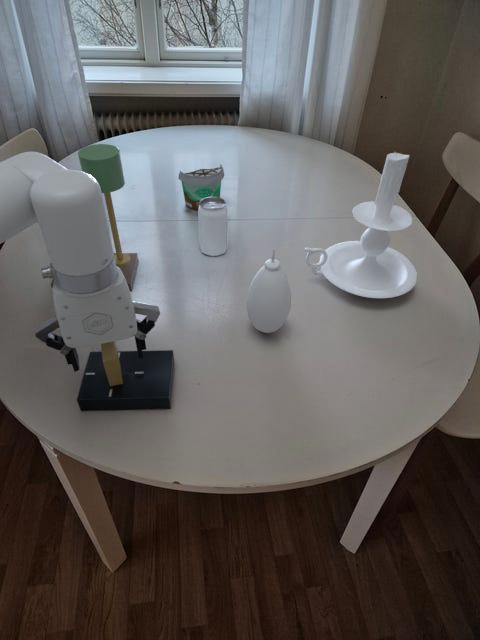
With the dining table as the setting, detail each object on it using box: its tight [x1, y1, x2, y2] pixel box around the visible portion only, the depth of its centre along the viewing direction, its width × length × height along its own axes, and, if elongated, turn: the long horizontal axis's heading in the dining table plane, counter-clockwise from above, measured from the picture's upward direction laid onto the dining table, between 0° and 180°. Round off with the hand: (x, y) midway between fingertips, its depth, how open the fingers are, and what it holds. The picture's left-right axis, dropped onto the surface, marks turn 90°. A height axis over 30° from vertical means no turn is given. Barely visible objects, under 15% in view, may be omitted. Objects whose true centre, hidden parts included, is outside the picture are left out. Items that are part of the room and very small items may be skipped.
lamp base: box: [50, 252, 139, 293], centre depth 91 cm, size 16×11×4 cm
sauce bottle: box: [246, 249, 292, 334], centre depth 76 cm, size 8×8×18 cm
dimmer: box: [76, 349, 175, 412], centre depth 70 cm, size 14×10×3 cm
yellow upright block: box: [100, 341, 123, 387], centre depth 67 cm, size 5×2×6 cm, turn 18°
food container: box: [178, 163, 225, 212], centre depth 112 cm, size 12×6×10 cm, turn 114°
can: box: [197, 197, 228, 257], centre depth 97 cm, size 6×6×12 cm
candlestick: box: [304, 151, 418, 299], centre depth 85 cm, size 21×25×28 cm
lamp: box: [77, 143, 130, 266], centre depth 82 cm, size 7×7×23 cm
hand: (108, 358), depth 67 cm, fingers open, 9 cm apart
